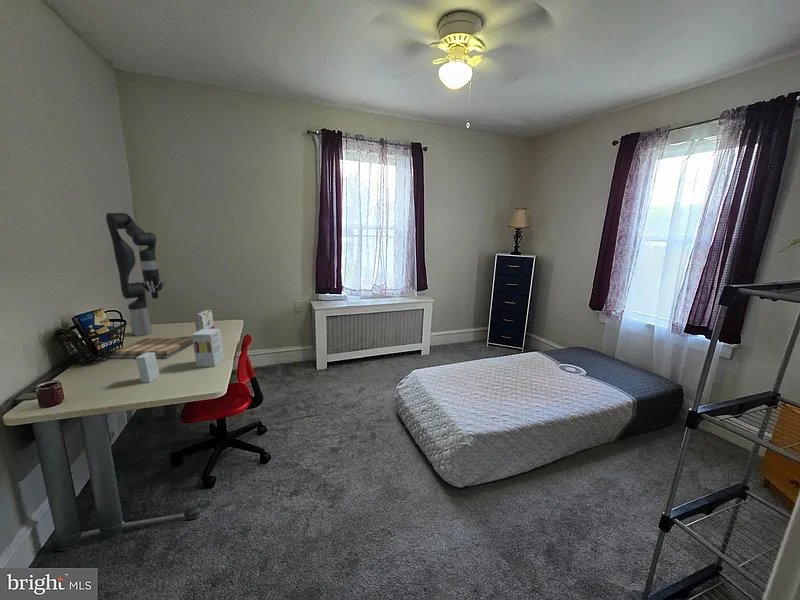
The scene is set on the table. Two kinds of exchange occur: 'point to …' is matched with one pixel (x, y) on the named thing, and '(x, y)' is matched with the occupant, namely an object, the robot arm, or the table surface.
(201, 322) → the candy bar box
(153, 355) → the skincare box
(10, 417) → the table surface
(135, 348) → the oak plank
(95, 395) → the table surface
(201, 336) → the supplement box
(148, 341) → the floor section
